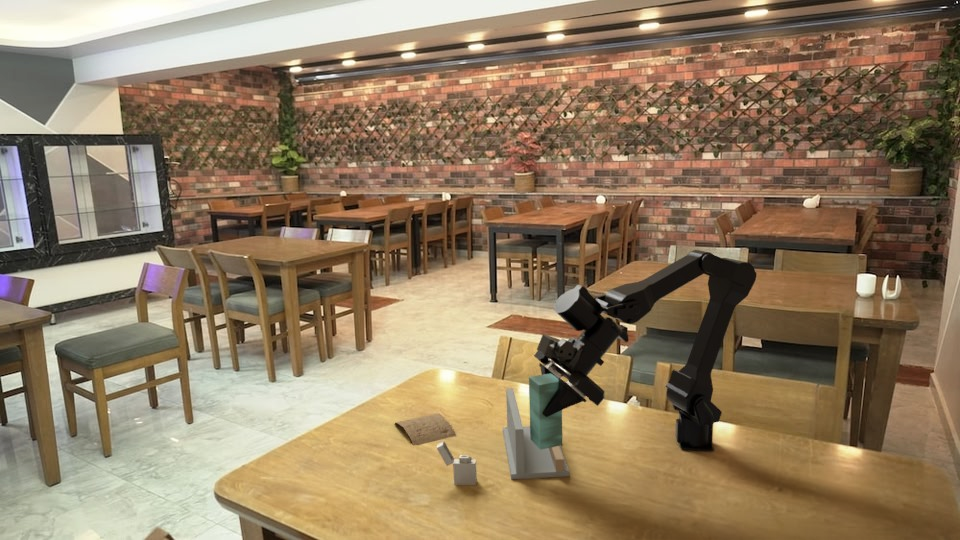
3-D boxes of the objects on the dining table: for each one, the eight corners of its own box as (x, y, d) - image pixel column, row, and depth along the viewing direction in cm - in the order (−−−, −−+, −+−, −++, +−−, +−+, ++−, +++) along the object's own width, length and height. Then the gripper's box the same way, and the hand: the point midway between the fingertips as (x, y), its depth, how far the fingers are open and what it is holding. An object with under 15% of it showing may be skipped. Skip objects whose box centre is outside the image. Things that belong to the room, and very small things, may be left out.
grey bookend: (552, 429, 135) (551, 386, 133) (569, 476, 115) (568, 426, 113) (502, 431, 134) (501, 388, 132) (511, 479, 115) (509, 429, 113)
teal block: (551, 434, 117) (550, 373, 114) (562, 445, 113) (561, 381, 110) (530, 439, 115) (528, 376, 113) (540, 449, 111) (538, 385, 109)
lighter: (476, 479, 115) (475, 440, 113) (476, 484, 113) (474, 445, 112) (439, 479, 115) (437, 440, 114) (438, 484, 114) (436, 444, 112)
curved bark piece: (458, 439, 133) (457, 427, 132) (415, 450, 128) (414, 439, 128) (432, 415, 145) (431, 404, 145) (391, 425, 141) (391, 414, 140)
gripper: (542, 307, 120) (491, 369, 118) (588, 332, 102) (529, 405, 101) (578, 340, 124) (529, 400, 122) (629, 370, 106) (572, 440, 105)
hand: (538, 410), depth 112 cm, fingers closed on teal block, 4 cm apart
